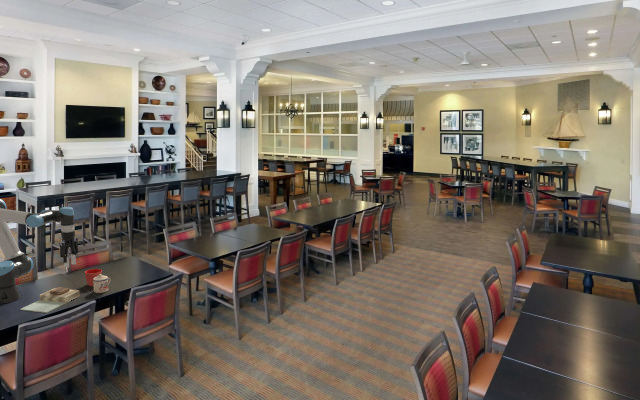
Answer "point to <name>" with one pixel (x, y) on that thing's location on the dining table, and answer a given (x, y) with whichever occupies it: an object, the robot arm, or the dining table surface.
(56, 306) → the sage mat
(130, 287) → the dining table surface
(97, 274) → the flower pot
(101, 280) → the teacup with lid
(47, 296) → the birch deck
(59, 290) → the walnut tile
